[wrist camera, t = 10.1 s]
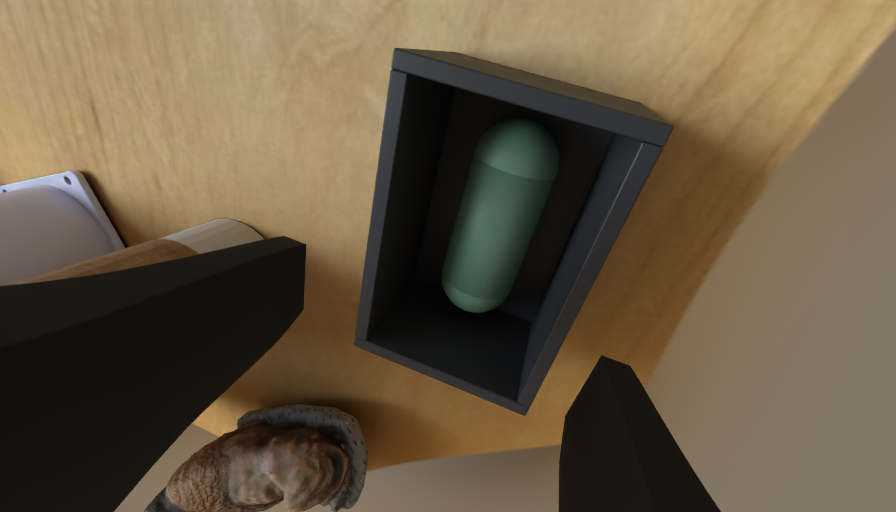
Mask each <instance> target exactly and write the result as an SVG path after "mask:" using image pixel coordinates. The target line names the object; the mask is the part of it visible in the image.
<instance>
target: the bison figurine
mask: <svg viewBox="0 0 896 512" xmlns="http://www.w3.org/2000/svg"><path fill="white" fill-rule="evenodd" d="M237 427H238V429H236V430H235V431H232V432H229V433H225V434H223V435H222V436H221V437H219V438H218V439H216V440H215V441H213V442H211V443H209V444H208V445H205V446H204V447H203V448H201V449H200V450H199V451H198V452H196V453H194V454H193V455H192V456H191V457H190V458H189V459H188V460H187V461H186V462H185V463H183V464H182V465H181V466H180V467H179V468H178V469H177V471H176V472H175V473H174V474H173V475H172V476H171V478H170V480H169V482H168V484H167V486H166V487H165V488H164V489H163V490H162V491H161V492H160V493H159V494H158V495H157V496H156V497H155V499H154V500H153V501H152V502H151V503H150V504H149V505H148V506H147V508H146V509H145V511H144V512H259V511H265V510H267V509H269V508H271V507H272V506H274V505H276V504H278V503H280V502H281V501H283V500H284V505H285V508H286V510H287V511H289V512H301V511H305V510H308V509H310V508H312V507H313V506H315V505H317V504H321V505H322V506H326V505H328V504H329V505H330V506H331V509H332V511H334V512H337V511H338V510H339V509H341V508H344V509H350V508H352V507H353V506H354V505H355V503H356V502H357V501H358V499H359V496H360V494H361V491H362V489H363V487H364V482H365V475H366V469H367V462H368V452H367V447H366V443H365V440H364V437H363V434H362V431H361V429H360V426H359V423H358V420H357V419H355V418H354V417H353V416H352V415H350V414H347V413H344V412H342V411H340V410H339V409H337V408H334V407H324V406H312V405H303V404H289V405H285V406H282V407H276V408H265V409H259V410H255V411H250V412H247V413H246V414H244V415H243V416H242V417H241V418H239V419H238V421H237Z"/></svg>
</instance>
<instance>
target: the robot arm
mask: <svg viewBox="0 0 896 512" xmlns="http://www.w3.org/2000/svg"><path fill="white" fill-rule="evenodd" d="M121 249H125V246H124V245H123V243H122V241H121V239H120V238H119V236H118V234H117V232H116V231H115V229H114V227H113V226H112V224H111V222H110V220H109V219H108V217H107V215H106V213H105V212H104V210H103V208H102V207H101V205H100V203H99V201H98V200H97V198H96V196H95V194H94V193H93V191H92V189H91V187H90V186H89V184H88V182H87V181H86V179H85V177H84V176H83V174H82V173H81V172H79V171H77V170H72V171H67V172H62V173H58V174H53V175H48V176H44V177H39V178H34V179H30V180H25V181H20V182H16V183H11V184H6V185H2V186H0V512H114V511H115V510H116V508H117V507H118V506H119V505H120V503H121V502H122V501H123V500H124V499H125V498H126V497H127V495H128V494H129V493H130V492H131V491H132V490H133V488H134V487H135V486H136V485H137V484H138V482H139V481H140V480H141V479H142V478H143V477H144V475H145V474H146V473H147V472H148V471H149V469H150V468H151V467H152V466H153V465H154V464H155V463H156V462H157V461H158V459H159V458H160V457H161V456H162V455H163V454H164V453H165V451H167V449H168V448H169V447H170V446H171V445H172V444H173V443H174V442H175V440H176V439H177V438H178V437H179V436H180V435H181V434H182V433H183V432H184V430H185V429H186V428H187V427H188V426H189V425H190V424H191V423H192V422H193V421H194V420H195V419H196V418H197V417H198V416H199V415H200V414H201V413H202V412H203V411H204V410H205V409H207V408H208V407H209V406H210V405H211V404H212V403H213V402H214V401H215V400H216V399H217V398H218V397H219V396H220V395H222V394H223V393H224V392H225V391H226V390H227V389H228V388H229V387H230V386H231V385H232V384H233V383H234V382H235V381H237V380H238V379H239V378H240V377H241V376H242V375H243V374H244V373H245V372H246V371H247V370H248V369H249V368H250V367H252V366H253V365H254V364H255V363H256V362H257V361H258V360H259V359H260V358H261V357H262V356H263V355H264V354H265V353H266V352H267V351H268V350H269V349H270V348H271V347H272V346H273V345H275V344H276V343H277V342H278V340H279V339H280V338H281V337H282V336H283V335H284V333H285V332H286V331H287V330H288V329H289V327H290V326H291V325H292V324H293V322H294V321H295V320H296V319H297V317H298V316H299V315H300V314H301V312H302V311H303V310H304V285H305V261H306V244H304V243H301V242H298V241H296V240H293V239H290V238H288V237H285V236H283V237H276V238H270V239H265V240H260V241H255V242H250V243H246V244H241V245H237V246H233V247H228V248H224V249H220V250H215V251H211V252H206V253H202V254H197V255H193V256H189V257H184V258H179V259H174V260H169V261H164V262H159V263H154V264H149V265H144V266H139V267H134V268H129V269H124V270H118V271H112V272H106V273H100V274H94V275H87V276H80V277H73V278H66V279H58V280H51V281H43V282H35V283H26V284H15V285H9V284H12V283H16V282H19V281H22V280H25V279H28V278H32V277H35V276H38V275H41V274H44V273H48V272H51V271H54V270H57V269H60V268H64V267H67V266H70V265H73V264H77V263H80V262H83V261H86V260H89V259H93V258H96V257H99V256H102V255H105V254H109V253H112V252H115V251H118V250H121ZM559 465H560V466H559V512H721V511H720V510H719V508H718V507H717V506H716V504H715V502H714V501H713V500H712V498H711V497H710V495H709V494H708V492H707V491H706V489H705V488H704V486H703V484H702V483H701V481H700V480H699V478H698V477H697V475H696V474H695V472H694V470H693V469H692V467H691V466H690V464H689V462H688V461H687V459H686V458H685V456H684V454H683V453H682V451H681V450H680V448H679V446H678V445H677V443H676V442H675V440H674V438H673V436H672V435H671V433H670V432H669V430H668V428H667V427H666V425H665V423H664V422H663V420H662V418H661V416H660V415H659V413H658V411H657V410H656V408H655V406H654V405H653V403H652V401H651V400H650V398H649V396H648V394H647V393H646V391H645V389H644V387H643V386H642V384H641V382H640V381H639V379H638V377H637V376H636V374H635V373H634V371H633V369H632V368H631V366H629V365H626V364H624V363H621V362H618V361H616V360H613V359H610V358H608V357H605V356H602V355H601V357H600V359H599V360H598V362H597V364H596V365H595V367H594V369H593V370H592V372H591V374H590V375H589V377H588V379H587V381H586V382H585V384H584V386H583V387H582V389H581V391H580V392H579V394H578V396H577V397H576V399H575V401H574V402H573V404H572V406H571V407H570V409H569V411H568V412H567V414H566V416H565V423H564V430H563V436H562V444H561V452H560V461H559Z"/></svg>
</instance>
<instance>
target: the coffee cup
mask: <svg viewBox="0 0 896 512" xmlns="http://www.w3.org/2000/svg"><path fill="white" fill-rule="evenodd" d="M260 240H265V239H264V238H263V237H262V236H261V235H260V234H258V233H257V232H256V231H255V230H253V229H252V228H250V227H249V226H247V225H245V224H243V223H241V222H238V221H235V220H231V219H216V220H212V221H209V222H206V223H203V224H200V225H197V226H194V227H192V228H189V229H186V230H183V231H180V232H177V233H174V234H171V235H168V236H165V237H162V238H159V239H153V240H150V241H147V242H144V243H141V244H137V245H134V246H131V247H128V248H125V249H121V250H118V251H115V252H112V253H109V254H105V255H102V256H99V257H96V258H93V259H89V260H86V261H83V262H80V263H77V264H73V265H70V266H67V267H64V268H60V269H57V270H54V271H51V272H48V273H44V274H41V275H38V276H35V277H32V278H28V279H25V280H22V281H19V282H16V283H12V284H9V285H15V284H26V283H35V282H43V281H51V280H58V279H66V278H73V277H80V276H87V275H94V274H100V273H106V272H112V271H118V270H124V269H129V268H134V267H139V266H144V265H149V264H154V263H159V262H164V261H169V260H174V259H179V258H184V257H189V256H193V255H197V254H202V253H206V252H211V251H215V250H220V249H224V248H228V247H233V246H237V245H241V244H246V243H250V242H255V241H260Z"/></svg>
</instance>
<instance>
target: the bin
mask: <svg viewBox="0 0 896 512" xmlns="http://www.w3.org/2000/svg"><path fill="white" fill-rule="evenodd" d="M513 117H523V118H528V119H532V120H534V121H537V122H538V123H540V124H541V125H543V126H544V127H545V128H546V129H547V130H548V131H549V132H550V133H551V134H552V136H553V138H554V139H555V141H556V144H557V147H558V150H559V157H560V160H559V169H558V172H557V176H556V179H555V181H554V184H553V186H552V189H551V191H550V194H549V196H548V199H547V201H546V204H545V206H544V209H543V211H542V214H541V216H540V219H539V221H538V224H537V226H536V229H535V231H534V234H533V236H532V239H531V241H530V244H529V246H528V249H527V251H526V254H525V256H524V259H523V261H522V264H521V266H520V269H519V271H518V274H517V277H516V279H515V282H514V284H513V287H512V289H511V291H510V293H509V295H508V297H507V298H506V299H505V300H504V301H503V303H502V304H501V305H499V306H498V307H496V308H494V309H493V310H490V311H487V312H482V313H474V312H468V311H465V310H463V309H461V308H459V307H458V306H456V305H455V304H453V303H452V302H451V300H450V299H449V298H448V296H447V295H446V293H445V291H444V288H443V285H442V268H443V264H444V261H445V257H446V253H447V250H448V246H449V242H450V239H451V235H452V231H453V228H454V224H455V220H456V217H457V213H458V209H459V206H460V202H461V198H462V195H463V191H464V187H465V184H466V180H467V176H468V173H469V169H470V165H471V162H472V158H473V154H474V151H475V149H476V146H477V143H478V141H479V140H480V138H481V137H482V135H483V134H484V133H485V132H486V131H487V130H488V129H489V128H490V127H491V126H493V125H494V124H496V123H498V122H500V121H502V120H504V119H508V118H513ZM673 127H674V126H673V125H671V124H670V123H669V122H667V121H666V120H664V119H663V118H661V117H660V116H658V115H657V114H655V113H654V112H652V111H651V110H650V109H648V108H647V107H645V106H644V105H642V104H641V103H639V102H635V101H631V100H628V99H624V98H620V97H617V96H613V95H609V94H606V93H602V92H598V91H595V90H591V89H587V88H584V87H580V86H576V85H573V84H569V83H566V82H562V81H558V80H555V79H551V78H547V77H544V76H540V75H536V74H533V73H529V72H525V71H522V70H518V69H514V68H511V67H507V66H503V65H500V64H496V63H492V62H489V61H485V60H481V59H478V58H474V57H471V56H467V55H463V54H460V53H456V52H445V51H431V50H417V49H403V48H395V49H394V52H393V59H392V69H391V73H390V80H389V87H388V95H387V102H386V110H385V117H384V124H383V132H382V139H381V147H380V154H379V162H378V169H377V176H376V184H375V191H374V199H373V206H372V214H371V221H370V228H369V236H368V243H367V251H366V258H365V266H364V273H363V280H362V288H361V295H360V303H359V310H358V318H357V325H356V332H355V341H354V345H355V346H357V347H359V348H362V349H364V350H366V351H369V352H371V353H374V354H376V355H378V356H381V357H383V358H386V359H388V360H391V361H393V362H395V363H398V364H400V365H403V366H405V367H408V368H410V369H412V370H415V371H417V372H420V373H422V374H424V375H427V376H429V377H432V378H434V379H437V380H439V381H441V382H444V383H446V384H449V385H451V386H454V387H456V388H458V389H461V390H463V391H466V392H468V393H471V394H473V395H475V396H478V397H480V398H483V399H485V400H487V401H490V402H492V403H495V404H497V405H500V406H502V407H504V408H507V409H509V410H512V411H514V412H517V413H519V414H521V415H524V416H525V415H526V414H527V412H528V410H529V408H530V406H531V404H532V402H533V400H534V398H535V396H536V394H537V392H538V390H539V388H540V387H541V385H542V383H543V381H544V379H545V377H546V375H547V373H548V371H549V369H550V367H551V365H552V363H553V361H554V359H555V357H556V355H557V353H558V352H559V350H560V348H561V346H562V344H563V342H564V340H565V338H566V336H567V334H568V332H569V330H570V328H571V326H572V324H573V322H574V320H575V319H576V317H577V315H578V313H579V311H580V309H581V307H582V305H583V303H584V301H585V299H586V297H587V295H588V293H589V291H590V289H591V287H592V285H593V284H594V282H595V280H596V278H597V276H598V274H599V272H600V270H601V268H602V266H603V264H604V262H605V260H606V258H607V256H608V254H609V252H610V251H611V249H612V247H613V245H614V243H615V241H616V239H617V237H618V235H619V233H620V231H621V229H622V227H623V225H624V223H625V221H626V219H627V217H628V216H629V214H630V212H631V210H632V208H633V206H634V204H635V202H636V200H637V198H638V196H639V194H640V192H641V190H642V188H643V186H644V184H645V183H646V181H647V179H648V177H649V175H650V173H651V171H652V169H653V167H654V165H655V163H656V161H657V159H658V157H659V155H660V153H661V151H662V147H661V146H664V145H665V144H666V142H667V140H668V138H669V136H670V134H671V132H672V130H673Z"/></svg>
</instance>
